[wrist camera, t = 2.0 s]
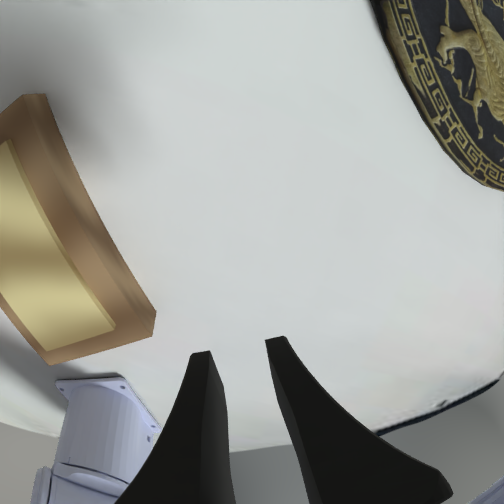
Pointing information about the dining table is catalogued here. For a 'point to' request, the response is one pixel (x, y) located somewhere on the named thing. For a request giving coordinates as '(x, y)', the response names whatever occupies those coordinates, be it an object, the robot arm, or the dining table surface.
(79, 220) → the frame
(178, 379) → the dining table surface
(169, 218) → the dining table surface
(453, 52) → the decorative plate
